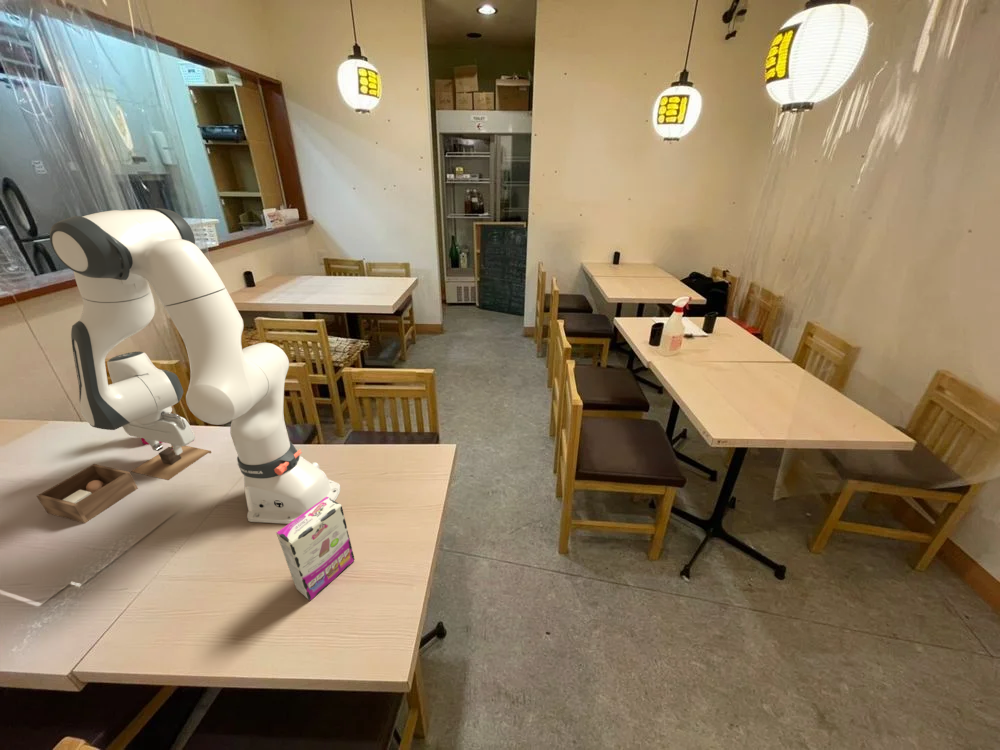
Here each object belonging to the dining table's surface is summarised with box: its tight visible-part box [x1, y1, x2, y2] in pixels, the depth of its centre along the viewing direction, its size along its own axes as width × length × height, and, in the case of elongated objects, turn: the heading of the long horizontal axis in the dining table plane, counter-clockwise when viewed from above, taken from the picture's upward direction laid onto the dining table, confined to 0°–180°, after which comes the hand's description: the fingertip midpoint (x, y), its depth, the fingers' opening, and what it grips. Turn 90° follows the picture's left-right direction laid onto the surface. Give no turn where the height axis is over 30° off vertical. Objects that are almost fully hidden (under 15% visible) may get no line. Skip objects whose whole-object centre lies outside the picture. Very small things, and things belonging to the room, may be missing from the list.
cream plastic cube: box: [63, 490, 92, 504], centre depth 97 cm, size 4×4×4 cm
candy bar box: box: [275, 497, 356, 601], centre depth 79 cm, size 11×5×16 cm, turn 148°
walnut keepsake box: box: [36, 463, 139, 524], centre depth 98 cm, size 12×12×6 cm
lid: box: [130, 445, 212, 481], centre depth 113 cm, size 13×13×5 cm
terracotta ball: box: [86, 480, 104, 493], centre depth 102 cm, size 3×3×3 cm
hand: (168, 451), depth 112 cm, fingers open, 5 cm apart
